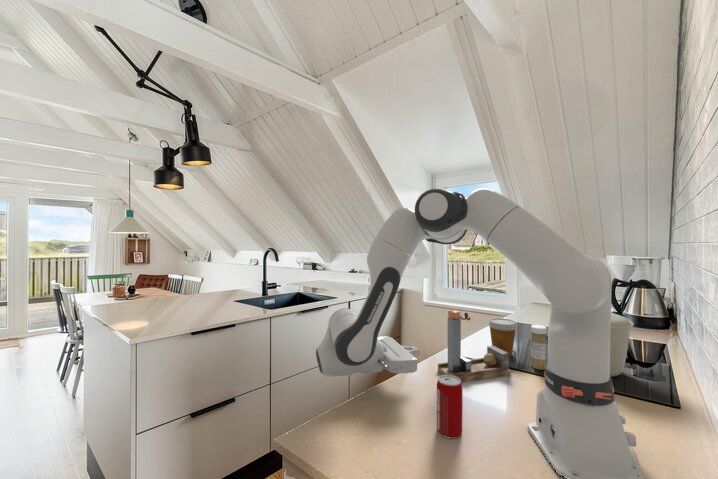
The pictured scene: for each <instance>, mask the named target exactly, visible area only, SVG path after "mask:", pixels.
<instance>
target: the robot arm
mask: <svg viewBox="0 0 718 479" xmlns="http://www.w3.org/2000/svg"><path fill="white" fill-rule="evenodd" d="M467 231H471V232H473V233H475V234H477V235H479V236H480V237H481V238H482V239H484V240H485V241H486V242H487V243H488V244H489V245H491V247H493V248H494V249H495V250H497V251H498V252H499V253H500V254H502V255H503V256H504V257H505V258H506V259H507V260H509V261H510V262H511V263H512V264H513V265H514V266H515V267H517V269H519V271H520V272H521V273H522V274H523V275H524V276H525V278H527V280H529V282H530V283H531V284H533V286H535V288H536V289H537V290H538V291H540V293H542V295H543V296H544V297H545V298H546V299H547V301H548V302H549V303H550V315H549V321H548V328H547V364H546V367H545V369H544V383H545V385H544V387H543V388H542V389H541V390H540V391H538V392H537V394H536V410H535V421H532V422H529V423H528V424H527V431H528V432H529V434H530V436H531V435H532V436H531V437H532V438H534V439H533V440H534V442H535V441H536V442H535V444H538V445H537V446H538V448H539V447H540V448H541V449H540V448H539V449H540V451H541V450H542V451H543V452H542V451H541V452H542V453H544V454H545V455H544V454H543V455H544V456H546V457H545V458H546V460H547V459H548V460H547V462H548V463H549V462H550V463H551V465H552V466H553V467H554V469H555V470H556V471H557V473H559V474H561V475H562V476H565V477H567V478H570V479H645V476H644V473H643V471H642V469H641V466H640V464H639V461H638V459H637V456H636V455H635V452H634V449H633V448H635V447H637V438H636V434H635V433H633V432H630V431H625V429H624V428H625V427H624V425H625V424H626V417H625V416H623V415H620V412H619V409H618V406H617V405H618V403H617V402H616V401H615V394H614V393H615V389H614V385H613V379H612V377H610V327H611V313H612V285H613V284H612V282H613V279H612V274H611V271H610V270H609V268H608V266H607V265H606V264H605V263H604V262H603V261H602V260H600V259H599V258H597V257H595V256H593V255H589V254H583V253H581V252H580V251H579V250H578V249H577V248H575V247H574V246H573V245H571V244H570V243H569V242H568V241H566V239H564V238H563V237H562V236H560V235H559V234H558V233H557V232H555V231H554V230H553V229H552V228H551V227H550V226H548V225H547V224H546V223H544V222H543V221H541V220H540V219H539V218H537V217H536V216H534V215H533V214H532V213H530V212H529V211H527V210H526V209H525V208H523V206H520V205H519V204H517V203H516V202H515V201H513V200H511V199H510V198H508V197H506V196H504V195H503V194H501V193H499V192H497V191H494V190H492V189H489V188H485V187H483V188H478V189H476V190H474V191H472V192H471V193H469V194H468V195H467V197H465V195H464V194H463V193H462V192H458V191H450V190H446V189H441V188H432V189H428V190H425V191H424V192H423V193H422V194H420V196H418V198H417V200H416V203H415V205H414V209H411V208H408V207H398V208H397V209H395V210H394V211H393V212H392V214H391V215H389V217H388V218H387V219H386V220H385V222H384V223H383V225H382V226H381V227H380V229H379V231H378V232H377V234H376V236H375V238H374V240H373V241H372V243H371V245H370V247H369V250H368V253H367V255H366V264H367V268H368V272H369V276H370V287H369V291H368V294H367V295H366V298H365V299H364V302H363V304H362V307H361V308H360V311H358V312H359V313H357V312H356V311H355V310H354V309H352V308H346V307H345V308H341V309H338V310H336V311H334V312H333V313H332V315H331V316H330V317H329V319H328V322H327V323H328V325H327V328H326V331H325V334H324V337H323V339H322V341H321V343H319V345H318V346H317V347H316V350H315V357H316V362H317V366H318V370H319V372H320V373H321V375H323V376H325V377H331V378H332V377H335V378H336V377H337V378H338V377H347V376H348V377H349V376H351V375H354V374H371V373H379V372H380V373H381V372H382V371H383V369H384V370H387V371H388V372H389V373H391V374H398V375H399V374H412V373H416V372H417V370H418V359H417V357H419V356H420V354H421V352H420V351H421V350H420V349H419V348H417V347H416V346H408V345H401V344H400V343H398V341H396V340H395V339H394V338H393V337H391V336H387V335H385V336H383V335H382V336H381V335H380V336H379V333H380V330H381V328H382V326H383V324H384V321H385V320H386V317H387V316H388V313H389V310H390V308H391V306H392V304H393V301H394V299H395V297H396V295H397V293H398V290H399V286H400V283H401V279H402V277H403V274H404V271H405V270H406V267H407V265H408V263H409V262H410V260H411V258H412V256H413V255H414V252H415V251H416V249H417V247H418V246H419V245H420V243H421V242H422V241H424V240H425V241H426V242H428V243H435V244H440V245H454V244H457V243H459V242H460V241H461V240H463V239H464V237H465V236H466V234H467ZM550 463H549V464H550ZM551 465H550V466H551ZM552 466H551V467H552ZM554 469H553V470H554ZM557 473H556V474H557ZM562 476H561V477H562Z"/></svg>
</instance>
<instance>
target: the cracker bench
mask: <svg viewBox="0 0 718 479" xmlns="http://www.w3.org/2000/svg"><path fill="white" fill-rule="evenodd" d="M469 360H471V371H469V372H463V371H462V370H461V371H460V372H451V371H450V370H448V369H447V366H448V361H447V362H446V361H445V362H439V363H437V372H438V373H439V374H441V375H453V376H456V377H458V378H459V379H460V380H461V383H467V381H468V382H472V381H473V382H474V381H480V380H487V379H493V378H501V377H508V376H512V375H511V374H512V372H511V369H510V368H509V357H508V353H507V352H505V351H503V350H501V349H499V348H497V347H495V346H492V345H488V346H487V348H486V353H485V355H484V356H483V357H480V358H470V359H469Z"/></svg>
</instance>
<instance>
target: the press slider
mask: <svg viewBox="0 0 718 479" xmlns="http://www.w3.org/2000/svg"><path fill="white" fill-rule="evenodd" d="M461 324H462V320H461V311H459V310H453V309H451V310H450V309H449V310H447V362H448V366H447V369H448V370H450V371H451V372H460V371H461V370H462V371H463V372H469V371H471V360H470V359H469V358H467V357H465V356H464V355H463V354H462V353H461V351H462V350H461V348H462V347H461V346H462V343H461V342H462V341H461V340H462V339H461V338H462V337H461V335H462V331H461V330H462V326H461Z"/></svg>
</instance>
